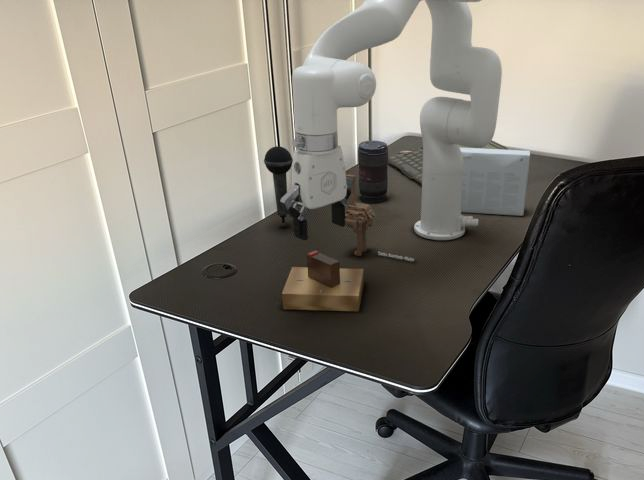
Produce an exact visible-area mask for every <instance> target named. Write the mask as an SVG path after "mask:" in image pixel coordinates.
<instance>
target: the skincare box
mask: <svg viewBox="0 0 644 480" xmlns="http://www.w3.org/2000/svg"><path fill="white" fill-rule="evenodd" d="M460 150H461V153H462V156H463V175H462V189H461V204H460V210H461V213H468V214H485V215H500V216H501V215H502V216H503V215H504V216H521V217H523V216H524V214H525V205H526V198H527V197H526V196H527V187H528V179H529V178H528V177H529V169H530V159H531V151H530V150H523V149H522V150H521V149H508V150H503V149H481V148H460Z"/></svg>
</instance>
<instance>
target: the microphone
mask: <svg viewBox="0 0 644 480" xmlns="http://www.w3.org/2000/svg"><path fill="white" fill-rule="evenodd" d="M263 163H264V165H265V168H266V169H267V170H268V172H270V173H271V174H272V180H273V188H274V196H275V197H274V198H275V204H276V212H277V215H278V216H279V217H280V218H281V223H280V226H281V227H282V228H286V227H287V222H286V220H285V219H286V217H287V216H288V215H289V214H288V213H287V212H285V208H284V207H283V205H282V204H281V202H280V200H281V198H282V197H283V196H284V195H285V194H286V193H287V192H288V183H287V173H288V172H289V171H290V170H291V169H292V163H293V156H292V154H291V153H290V151H289V150H288V149H287V148H285V147H283V146H278V145H277V146H272V147H270V148H269V149H268V150H267V151H266V152H265V155H264V159H263Z"/></svg>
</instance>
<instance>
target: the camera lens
mask: <svg viewBox="0 0 644 480" xmlns="http://www.w3.org/2000/svg"><path fill="white" fill-rule="evenodd" d="M388 157H389V147H388V143H386V142H385V141H381V140H365V141H362V142H359V144H358V148H357V162H358V163H357V164H358V189H359V194H360V198H361V200H362V201H363V202H367V203H381V202H383V201H385V200H386V195H387V194H388V186H389V185H388V181H389V179H388V165H389V162H388Z"/></svg>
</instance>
